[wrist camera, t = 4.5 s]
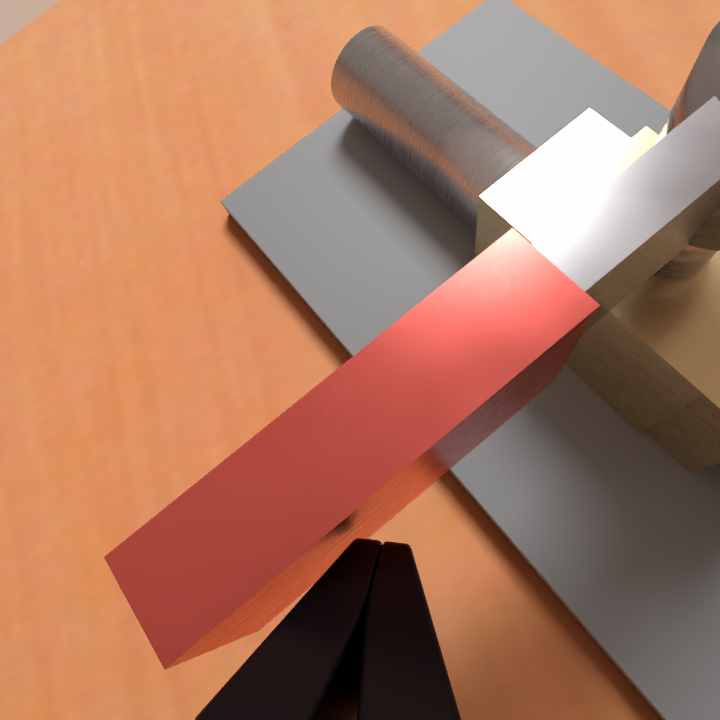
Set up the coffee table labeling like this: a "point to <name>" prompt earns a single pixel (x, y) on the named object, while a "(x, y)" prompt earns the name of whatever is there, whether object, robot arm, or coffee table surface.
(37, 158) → the coffee table surface
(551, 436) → the mounting board
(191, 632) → the valve lever
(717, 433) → the valve body
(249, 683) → the robot arm
